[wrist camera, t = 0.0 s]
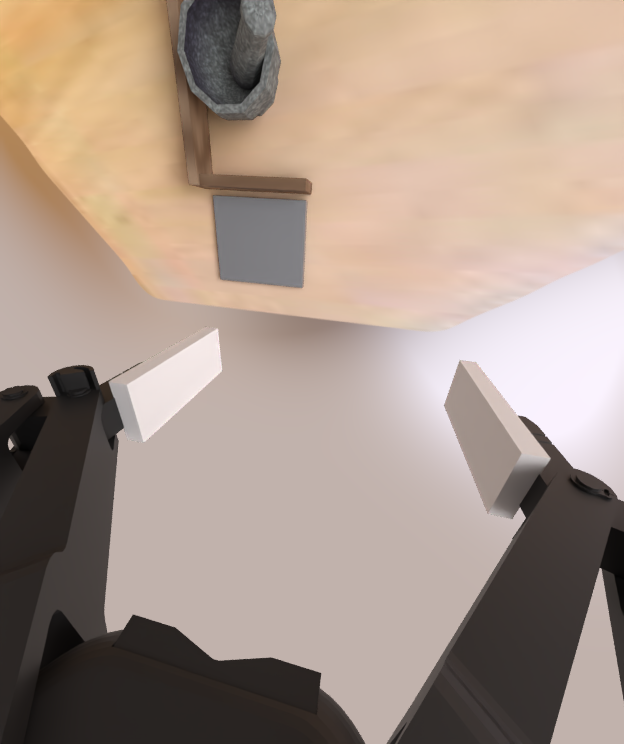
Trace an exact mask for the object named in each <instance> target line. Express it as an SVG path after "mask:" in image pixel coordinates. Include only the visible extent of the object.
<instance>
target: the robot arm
mask: <svg viewBox="0 0 624 744" xmlns="http://www.w3.org/2000/svg"><path fill="white" fill-rule="evenodd" d="M221 371H222V365H221V355H220V345H219V336H218V328H211V327H204V328H202V329H201V330H199V331H197V332H195V333H193V334H192V335H190V336H188V337H186V338H185V339H183V340H182V341H179V342H178V343H176V344H174V345H172V346H171V347H169V348H167V349H165V350H164V351H162V352H160V353H158V354H156V355H155V356H153V357H151V358H149V359H148V360H146V361H144V362H141V363H139V364H137V365H135V366H133V367H131V368H130V369H128V370H126V371H124V372H123V373H122V374H119V375H117V376H115V377H114V378H112V379H110V380H108V381H106V382H105V383H103V384H101V385H99V383H98V381H97V378H96V375H95V372H94V369H93V367H91V366H86V365H78V366H71V367H66V368H62V369H60V370H57V371H55V372H53V373H51V374H50V375H49V376H48V379H49V381H50V383H51V386H52V388H53V390H54V392H55V395H56V397H42V395H41V393H40V391H39V389H38V387H36V386H29V385H28V386H27V385H25V386H15V387H13V388H12V387H11V388H7V389H5V390H4V391H1V392H0V744H365V742H364V740H363V739H362V737H361V735H360V734H359V732H358V730H357V729H356V727H355V726H354V724H353V722H352V721H351V720H350V719H349V717H348V716H347V715H346V713H345V712H344V711H343V709H342V708H341V707H340V706H339V705H338V704H337V703H336V702H335V701H334V700H333V699H332V698H331V697H330V696H329V695H328V694H326V693H325V692H324V691H323V690H321V689H320V679H321V673H319V672H316V671H313V670H309V669H306V668H303V667H300V666H297V665H293V664H290V663H287V662H284V661H281V660H278V659H274V658H256V659H240V660H224V661H218V660H214V659H212V658H211V657H210V656H208V655H207V654H206V653H205V652H204V651H202V650H201V649H200V648H199V647H198V646H197V645H195V644H194V643H193V642H192V641H190V640H189V639H188V638H187V637H186V636H185V635H183V634H182V633H181V632H180V631H179V630H178V629H176V628H175V627H171V626H168V625H165V624H162V623H159V622H155V621H152V620H149V619H146V618H143V617H139V616H136V615H133V616H132V617H131V619H130V620H129V622H128V623H127V625H126V627H125V628H124V630H119V631H114V632H110V633H107V628H106V623H105V616H104V604H105V592H106V581H107V568H108V558H109V545H110V534H111V523H112V511H113V500H114V487H115V476H116V465H117V453H118V438H117V435H116V434H117V433H118V432H119V431H120V430H122V429H123V428H124V431H125V433H126V437H127V439H128V440H132V441H137V442H143V443H144V442H145V441H146V440H147V439H148V438H150V437H151V436H152V435H153V434H154V433H155V432H156V431H157V430H158V429H159V428H161V427H162V426H163V425H164V424H165V423H166V422H167V421H168V420H169V419H170V418H171V417H173V416H174V415H175V414H176V413H177V412H178V411H179V410H180V409H181V408H182V407H183V406H184V405H186V403H188V402H189V401H190V400H191V399H192V398H193V397H194V396H195V395H196V394H198V393H199V391H201V390H202V389H203V388H204V387H205V386H206V385H207V384H208V383H209V382H211V381H212V380H213V379H214V378H215V377H216V376H217V375H218V374H219V373H220V372H221ZM444 406H445V409H446V411H447V414H448V416H449V419H450V421H451V424H452V426H453V429H454V431H455V433H456V436H457V439H458V441H459V444H460V446H461V449H462V451H463V453H464V456H465V459H466V461H467V464H468V466H469V468H470V470H471V473H472V476H473V478H474V481H475V483H476V486H477V488H478V491H479V493H480V496H481V498H482V501H483V503H484V506H485V508H486V511H487V513H488V514H491V515H496V516H501V517H506V518H511V519H513V517H514V515H515V514H516V512H517V511H518V509H519V508H520V507H521V509H522V511H523V513H524V515H525V517H526V519H525V521H524V522H523V524H522V525H521V527H520V528H519V529H518V531H517V532H516V534H515V535H514V537H513V538H512V539H513V540H512V541H511V543H510V545H509V546H508V548H507V550H506V552H505V553H504V554H503V556H502V558H501V559H500V561H499V563H498V564H497V566H496V568H495V569H494V571H493V572H492V574H491V576H490V577H489V579H488V581H487V583H486V584H485V586H484V587H483V589H482V590H481V592H480V594H479V595H478V597H477V599H476V600H475V602H474V603H473V605H472V607H471V609H470V610H469V612H468V613H467V615H466V617H465V618H464V620H463V622H462V623H461V625H460V626H459V628H458V630H457V631H456V633H455V635H454V636H453V638H452V639H451V641H450V643H449V644H448V646H447V648H446V649H445V651H444V652H443V654H442V656H441V657H440V659H439V661H438V662H437V664H436V666H435V667H434V669H433V670H432V672H431V674H430V676H429V677H428V679H427V680H426V682H425V683H424V685H423V687H422V688H421V690H420V692H419V693H418V695H417V697H416V698H415V700H414V702H413V703H412V705H411V706H410V708H409V709H408V711H407V713H406V714H405V716H404V717H403V719H402V720H401V722H400V724H399V725H398V727H397V728H396V730H395V731H394V733H393V735H392V736H391V738H390V739H389V741H388V742H387V744H550V742H551V739H552V735H553V732H554V728H555V724H556V721H557V717H558V714H559V710H560V707H561V703H562V699H563V696H564V692H565V689H566V685H567V681H568V678H569V674H570V671H571V667H572V664H573V660H574V657H575V653H576V650H577V646H578V643H579V639H580V635H581V632H582V628H583V625H584V621H585V618H586V614H587V611H588V607H589V604H590V600H591V596H592V593H593V589H594V586H595V582H596V578H597V575H598V572H599V568H601V569H602V573H603V579H604V585H605V591H606V597H607V603H608V609H609V615H610V621H611V627H612V633H613V639H614V645H615V651H616V656H617V663H618V668H619V675H620V681H621V687H622V692H623V699H624V502H623V501H621V500H618V499H617V496H616V494H615V493H614V492H613V490H612V489H611V488H610V487H609V486H607V485H606V484H605V483H604V482H602V481H601V480H599V479H597V478H596V477H594V476H592V475H590V474H588V473H586V472H583V471H581V470H578V469H573V467H572V466H571V465H570V464H569V463H568V461H566V459H565V458H564V457H563V455H562V454H561V453H560V452H559V451H558V450H557V448H556V447H555V446H554V445H552V442H551V441H550V440H549V439H548V438H547V437H545V434H544V433H543V432H542V430H540V428H539V427H538V426H537V425H536V424H534V423H533V422H532V421H530V420H529V419H527V418H526V417H523V416H517V414H516V413H515V412H514V411H513V409H512V408H511V407H510V405H509V404H508V403H507V402H506V400H505V399H504V398H503V396H502V395H501V394H500V393H499V391H498V390H497V389H496V387H495V386H494V385H493V384H492V382H491V381H490V380H489V378H488V377H487V376H486V375H485V373H484V372H483V371H482V370H481V368H480V367H479V366H478V364H477V363H476V362H469V361H461V360H460V361H459V364H458V367H457V370H456V373H455V376H454V379H453V381H452V384H451V387H450V390H449V393H448V396H447V399H446V402H445V405H444ZM9 438H10V439H11V441H12V443H13V445H14V447H13V448H12V449H11V450H9V448H8V439H9Z"/></svg>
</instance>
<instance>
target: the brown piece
mask: <svg viewBox="0 0 624 744" xmlns="http://www.w3.org/2000/svg"><path fill="white" fill-rule="evenodd" d="M166 1H167V9H168V17H169V25H170V34H171V42H172V50H173V58H174V66H175V74H176V83H177V91H178V99H179V107H180V115H181V123H182V132H183V140H184V148H185V156H186V164H187V172H188V181H189V185H193V186H197V187H201V188H205V189H220V190H240V191H259V192H278V193H297V194H311V192H312V183H311V182H310V181H309V180H307V179H304V178H281V177H259V176H236V175H213V172H212V160H211V149H210V137H209V126H208V114H207V105H206V104H205V103H204V102H203V101H202V100H200V99H199V98H198V97H197V96H196V95H195V94H194V93H193V92H192V91H191V89H190V86H189V84H188V81H187V78H186V75H185V72H184V69H183V66H182V63H181V60H180V57H179V54H178V51H177V47H178V33H179V20H180V6H181V4H182V2H183V1H184V0H166Z"/></svg>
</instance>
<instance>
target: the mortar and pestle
mask: <svg viewBox="0 0 624 744" xmlns="http://www.w3.org/2000/svg"><path fill="white" fill-rule="evenodd" d="M275 20H276V11H275V7H274V2H273V0H184V1H183V2H182V4H181V6H180V20H179V33H178V47H177V51H178V54H179V57H180V60H181V63H182V66H183V69H184V72H185V75H186V78H187V81H188V84H189V86H190V89H191V91H192V92H193V93H194V94H195V95H196V96H197V97H198V98H199V99H200V100H202V101H203V102H204V103H205V104H206V105H207V106H208V107H209V108H210V109H211V110H212V111H213V112H215V113H216V114H217V115H218V116H220V117H221V118H223V119H226V120H253V119H254V118H255V117H256V116H262V115H263V114H264V112H265V111H266V110H267V109H268V108H269V107H270V106H271V105H272V104H273V103H274V99H275V94H276V89H277V85H278V73H279V68H280V63H281V60H280V55H279V51H278V47H277V42H276V38H275V34H274V25H275Z"/></svg>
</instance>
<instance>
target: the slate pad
mask: <svg viewBox="0 0 624 744" xmlns="http://www.w3.org/2000/svg"><path fill="white" fill-rule="evenodd" d="M213 201H214V212H215V223H216V234H217V245H218V256H219V268H220V279H222V280H231V281H241V282H251V283H260V284H270V285H280V286H289V287H299V288H303V284H304V262H305V241H306V219H307V201H303V200H285V199H267V198H250V197H232V196H214V195H213Z"/></svg>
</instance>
